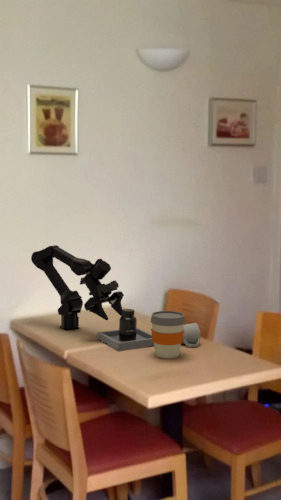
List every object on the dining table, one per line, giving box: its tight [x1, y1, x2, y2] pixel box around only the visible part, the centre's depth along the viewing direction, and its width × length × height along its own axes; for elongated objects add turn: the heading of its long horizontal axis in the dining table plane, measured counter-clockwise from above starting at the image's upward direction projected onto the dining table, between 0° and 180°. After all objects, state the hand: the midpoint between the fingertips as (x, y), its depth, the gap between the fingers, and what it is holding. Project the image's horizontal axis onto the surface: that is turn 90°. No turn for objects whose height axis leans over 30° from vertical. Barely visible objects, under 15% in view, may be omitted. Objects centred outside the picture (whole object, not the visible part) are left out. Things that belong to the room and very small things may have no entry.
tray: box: [96, 327, 154, 352], centre depth 251 cm, size 18×18×3 cm
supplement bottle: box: [118, 308, 138, 342], centre depth 250 cm, size 7×7×12 cm
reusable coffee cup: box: [150, 310, 186, 359], centre depth 234 cm, size 13×13×15 cm
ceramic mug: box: [181, 322, 201, 348], centre depth 249 cm, size 11×8×8 cm
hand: (115, 317), depth 254 cm, fingers open, 9 cm apart
